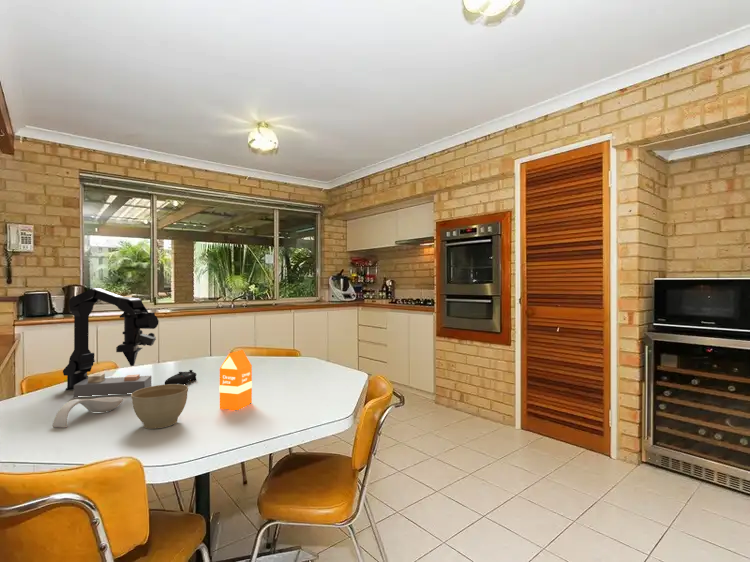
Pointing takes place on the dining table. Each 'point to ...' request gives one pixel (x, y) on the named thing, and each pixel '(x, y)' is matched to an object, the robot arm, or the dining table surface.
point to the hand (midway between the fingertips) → (132, 365)
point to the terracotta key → (131, 377)
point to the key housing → (111, 386)
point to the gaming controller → (181, 378)
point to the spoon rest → (90, 404)
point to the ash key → (96, 378)
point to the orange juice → (235, 381)
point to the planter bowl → (159, 404)
